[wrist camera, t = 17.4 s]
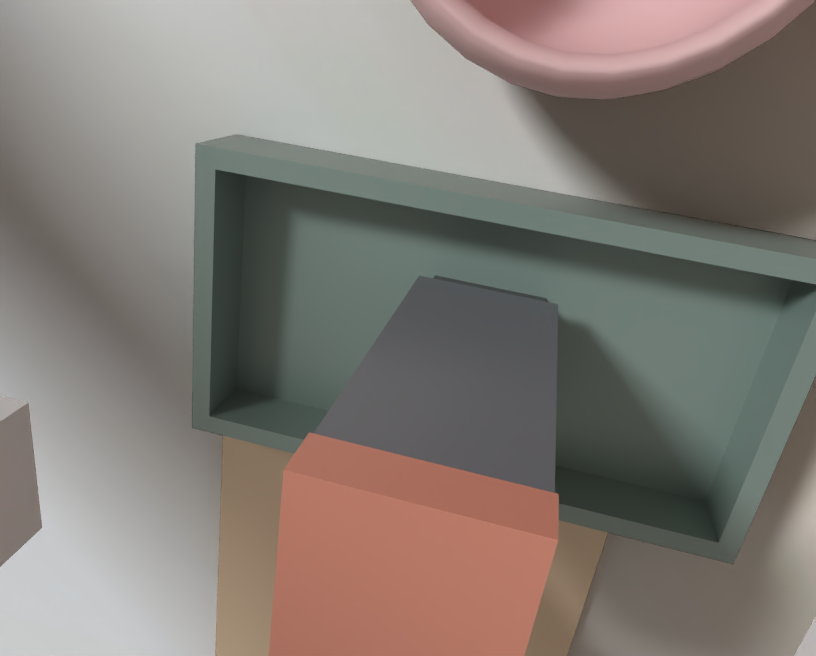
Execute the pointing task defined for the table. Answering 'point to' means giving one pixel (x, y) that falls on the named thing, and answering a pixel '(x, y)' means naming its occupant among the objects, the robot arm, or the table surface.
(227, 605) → the tan board
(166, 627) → the table surface
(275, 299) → the tray
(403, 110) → the table surface
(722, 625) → the table surface
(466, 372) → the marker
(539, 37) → the mug
